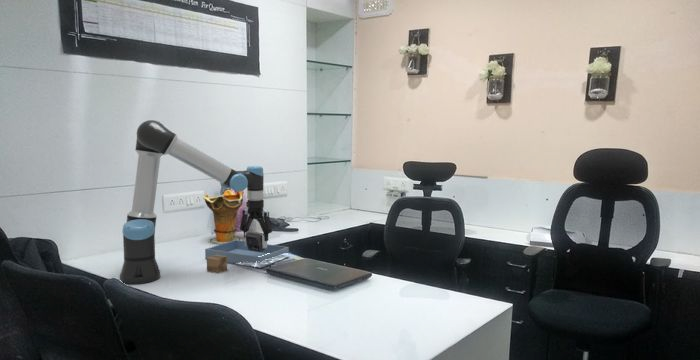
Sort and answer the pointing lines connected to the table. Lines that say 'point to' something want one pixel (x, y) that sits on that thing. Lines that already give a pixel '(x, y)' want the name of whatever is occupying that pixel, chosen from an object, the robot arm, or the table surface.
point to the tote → (243, 252)
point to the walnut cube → (216, 263)
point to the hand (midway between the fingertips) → (256, 246)
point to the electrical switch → (254, 241)
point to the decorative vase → (224, 215)
